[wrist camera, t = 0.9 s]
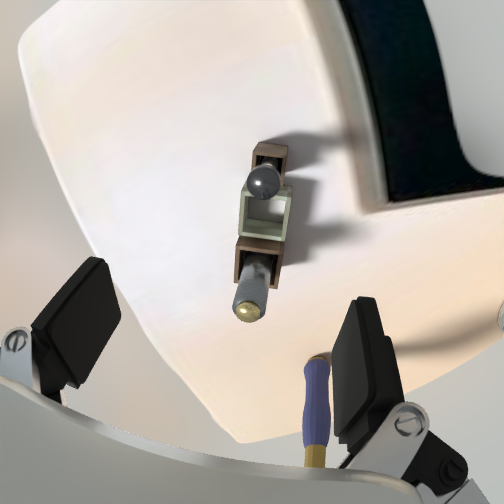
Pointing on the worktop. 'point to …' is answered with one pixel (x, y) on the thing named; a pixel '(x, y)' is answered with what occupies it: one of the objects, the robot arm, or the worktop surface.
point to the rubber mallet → (316, 412)
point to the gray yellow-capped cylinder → (253, 287)
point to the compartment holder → (263, 232)
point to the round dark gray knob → (264, 179)
